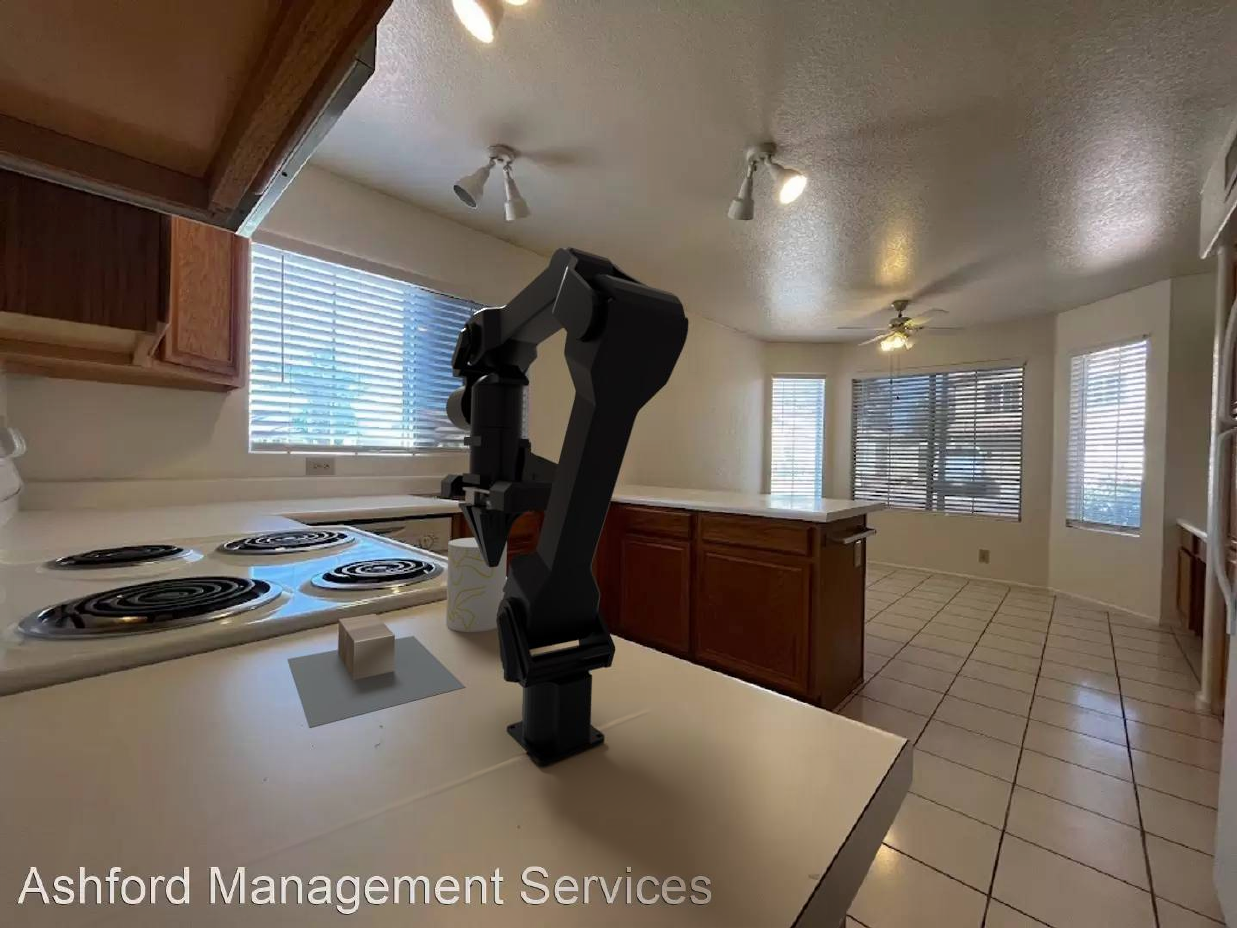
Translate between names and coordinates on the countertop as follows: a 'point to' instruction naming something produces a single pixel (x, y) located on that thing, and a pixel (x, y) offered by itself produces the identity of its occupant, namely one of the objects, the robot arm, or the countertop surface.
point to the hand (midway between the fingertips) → (492, 566)
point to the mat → (367, 683)
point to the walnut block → (366, 646)
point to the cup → (473, 587)
